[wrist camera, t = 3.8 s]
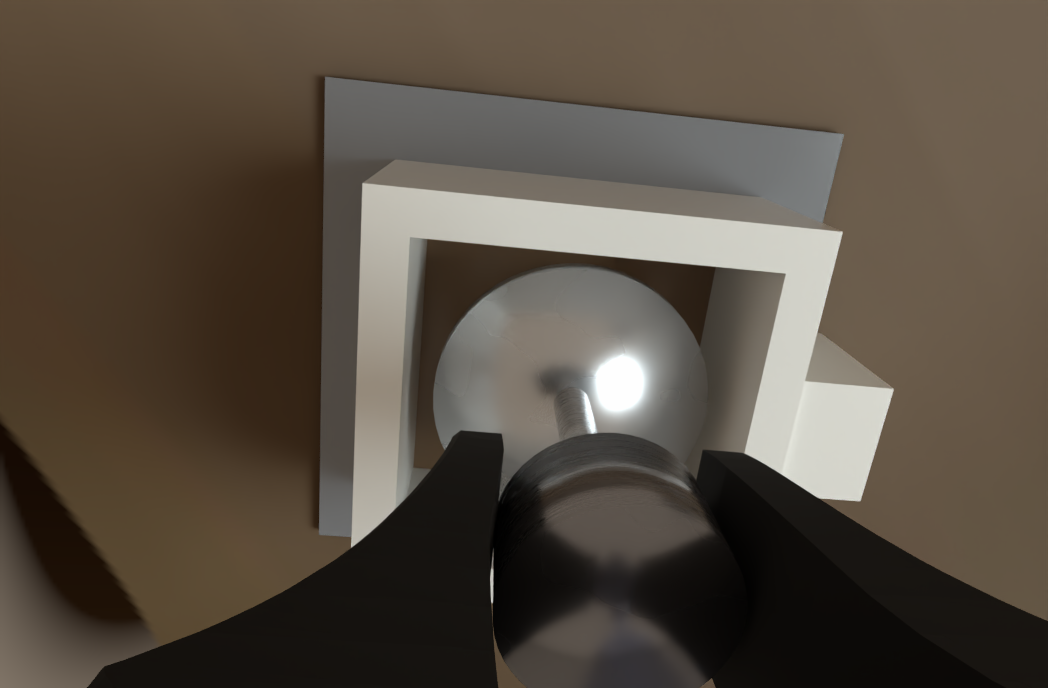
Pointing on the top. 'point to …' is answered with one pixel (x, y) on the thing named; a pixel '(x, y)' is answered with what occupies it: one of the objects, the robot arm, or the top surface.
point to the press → (575, 237)
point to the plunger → (594, 481)
